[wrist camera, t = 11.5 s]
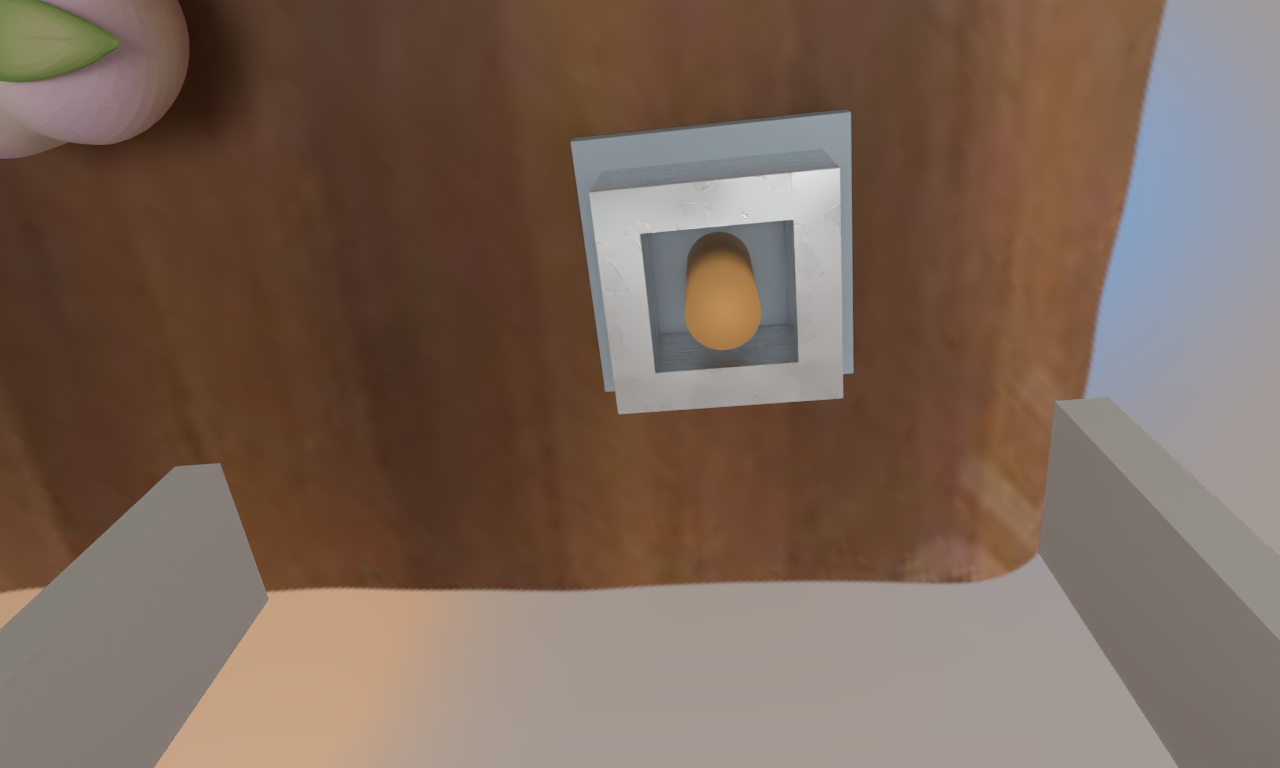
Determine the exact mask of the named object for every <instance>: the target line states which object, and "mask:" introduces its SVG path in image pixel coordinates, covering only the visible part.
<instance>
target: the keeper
mask: <svg viewBox="0 0 1280 768" xmlns="http://www.w3.org/2000/svg"><path fill="white" fill-rule="evenodd" d="M571 148H572V156H573V163H574V170H575V177H576V184H577V192H578V199H579V206H580V213H581V220H582V228H583V235H584V242H585V249H586V256H587V264H588V271H589V278H590V285H591V293H592V300H593V307H594V314H595V321H596V329H597V336H598V343H599V350H600V357H601V365H602V372H603V379H604V386H605V392H610V391H615V385H614V378H613V370H612V363H611V355H610V348H609V340H608V333H607V325H606V317H605V310H604V302H603V295H602V287H601V280H600V272H599V265H598V257H597V249H596V242H595V234H594V227H593V219H592V212H591V204H590V197H589V192H590V190H591V188H592V187H593V185H594V183H595V182H596V180H597V178H598V177H599V175H600V173H601V172H602V171H608V170H618V169H628V168H638V167H648V166H658V165H668V164H678V163H687V162H697V161H707V160H717V159H727V158H737V157H747V156H757V155H767V154H777V153H786V152H796V151H806V150H816V149H823V150H824V151H825V152H826V153H827V154H828V155H829V156H830V157H831V158H832V160H833V161H834V162H835V163H836V164H837V165H838V166H839V167H840V202H841V273H842V344H843V374H850V373H853V276H852V172H851V112H850V111H849V110H847V109H842V110H832V111H823V112H814V113H804V114H795V115H785V116H776V117H767V118H757V119H748V120H738V121H729V122H720V123H710V124H701V125H691V126H682V127H673V128H663V129H654V130H644V131H635V132H626V133H616V134H607V135H597V136H588V137H579V138H574V139H573V140H572V141H571ZM649 234H650V244H651V253H652V263H653V272H654V282H655V291H656V300H657V310H658V319H659V329H660V333H672V332H684V331H689V332H690V334H691V335H692V336H693V337H694V339H695V340H697V341H698V342H699V343H700V344H702V345H704V346H706V347H708V348H711V349H715V350H730V349H734V348H737V347H739V346H741V345H743V344H745V343H746V342H747V341H748V340H750V339H751V338H752V336H753V335H754V334H755V332H756V331H757V329H758V327H759V325H771V324H783V323H787V299H786V275H785V251H784V227H783V221H773V222H762V223H751V224H740V225H730V226H719V227H708V228H697V229H687V230H676V231H665V232H654V233H649Z"/></svg>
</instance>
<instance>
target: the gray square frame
mask: <svg viewBox="0 0 1280 768" xmlns="http://www.w3.org/2000/svg"><path fill="white" fill-rule="evenodd" d="M589 197H590V204H591V212H592V219H593V227H594V234H595V242H596V249H597V257H598V265H599V272H600V280H601V287H602V295H603V302H604V310H605V317H606V325H607V333H608V340H609V348H610V355H611V363H612V370H613V378H614V385H615V393H616V401H617V408H618V414H629V413H643V412H657V411H671V410H685V409H699V408H713V407H727V406H741V405H755V404H769V403H784V402H798V401H812V400H826V399H840V398H843V344H842V273H841V202H840V167H839V166H838V165H837V164H836V163H835V162H834V161H833V160H832V158H831V157H830V156H829V155H828V154H827V153H826V152H825V151H824V150H823V149H816V150H806V151H796V152H786V153H777V154H767V155H757V156H747V157H737V158H727V159H717V160H707V161H697V162H687V163H678V164H668V165H658V166H648V167H638V168H628V169H618V170H608V171H602V172H601V173H600V175H599V177H598V178H597V180H596V182H595V183H594V185H593V187H592V188H591V190H590V192H589ZM773 221H783V227H784V251H785V275H786V299H787V323H783V324H771V325H759V327H758V329H757V331H756V332H755V334H754V335H753V336H752V338H751V339H750V340H748V341H747V342H746V343H745V344H743V345H741V346H739V347H737V348H734V349H730V350H715V349H711V348H708V347H706V346H704V345H702V344H700V343H699V342H698V341H697V340H695V339H694V337H693V336H692V335H691V334H690V332H689V331H684V332H672V333H660V329H659V319H658V310H657V300H656V291H655V282H654V272H653V263H652V253H651V244H650V234H649V233H654V232H665V231H676V230H687V229H697V228H708V227H719V226H730V225H740V224H751V223H762V222H773Z"/></svg>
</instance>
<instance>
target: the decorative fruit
mask: <svg viewBox="0 0 1280 768" xmlns="http://www.w3.org/2000/svg"><path fill="white" fill-rule="evenodd" d="M188 63H189V35H188V29H187V24H186V21H185V17H184V14H183V11H182V9H181V6H180V4H179V2H178V0H0V159H10V158H24V157H27V156H31V155H35V154H38V153H41V152H44V151H47V150H50V149H52V148H55V147H58V146H61V145H63V144H66V143H68V142H72V143H78V144H91V145H107V144H115V143H118V142H121V141H124V140H128V139H131V138H132V137H134V136H136V135H138V134H140V133H142V132H144V131H146V130H147V129H148V128H150V127H151V126H152V125H153V124H155V123H156V122H157V121H158V120H160V119H161V118H162V117H163V115H164V114H165V113H166V112H167V111H168V110H169V109H170V107H171V106H172V104H173V103H174V101H175V99H176V98H177V96H178V94H179V92H180V90H181V88H182V85H183V83H184V80H185V77H186V73H187V69H188Z"/></svg>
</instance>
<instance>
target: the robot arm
mask: <svg viewBox="0 0 1280 768" xmlns="http://www.w3.org/2000/svg"><path fill="white" fill-rule="evenodd" d="M1038 553H1039V554H1040V556H1041V557H1042V559H1043V560H1044V562H1045V563H1046V565H1047V566H1048V568H1049V569H1050V571H1051V573H1052V574H1053V575H1054V577H1055V579H1056V580H1057V582H1058V583H1059V585H1060V586H1061V588H1062V589H1063V591H1064V592H1065V594H1066V596H1067V597H1068V599H1069V600H1070V602H1071V603H1072V605H1073V606H1074V608H1075V609H1076V611H1077V612H1078V614H1079V615H1080V617H1081V618H1082V620H1083V622H1084V623H1085V625H1086V626H1087V628H1088V629H1089V631H1090V632H1091V634H1092V635H1093V637H1094V638H1095V640H1096V642H1097V643H1098V645H1099V646H1100V648H1101V649H1102V651H1103V652H1104V654H1105V655H1106V657H1107V658H1108V660H1109V661H1110V663H1111V664H1112V666H1113V668H1114V669H1115V670H1116V672H1117V674H1118V675H1119V677H1120V678H1121V680H1122V681H1123V683H1124V684H1125V686H1126V687H1127V689H1128V691H1129V692H1130V693H1131V695H1132V697H1133V698H1134V700H1135V701H1136V703H1137V704H1138V706H1139V707H1140V709H1141V711H1142V712H1143V714H1144V715H1145V717H1146V718H1147V720H1148V721H1149V723H1150V724H1151V726H1152V727H1153V729H1154V730H1155V732H1156V733H1157V735H1158V737H1159V738H1160V740H1161V741H1162V743H1163V744H1164V746H1165V747H1166V749H1167V750H1168V752H1169V753H1170V755H1171V757H1172V758H1173V760H1174V761H1175V762H1176V764H1177V766H1178V767H1179V768H1280V556H1279V555H1278V554H1277V553H1276V552H1275V551H1274V550H1273V549H1272V548H1271V547H1269V546H1268V545H1267V544H1266V543H1265V542H1264V541H1263V540H1262V539H1261V538H1260V537H1259V536H1258V535H1256V533H1254V532H1253V531H1252V530H1251V529H1250V528H1249V527H1248V526H1247V525H1246V524H1245V523H1244V522H1243V521H1241V520H1240V519H1239V518H1238V517H1237V516H1236V515H1235V514H1234V513H1233V512H1232V511H1231V510H1230V509H1228V508H1227V507H1226V506H1225V505H1224V504H1223V503H1222V502H1221V501H1220V500H1219V499H1218V498H1217V497H1215V496H1214V495H1213V494H1212V493H1211V492H1210V491H1209V490H1208V489H1207V488H1206V487H1205V486H1204V485H1202V484H1201V483H1200V482H1199V481H1198V480H1197V479H1196V478H1195V477H1194V476H1193V475H1192V474H1191V473H1189V472H1188V471H1187V470H1186V469H1185V468H1184V467H1183V466H1182V465H1181V464H1180V463H1179V462H1178V461H1177V460H1175V459H1174V458H1173V457H1172V456H1171V455H1170V454H1169V453H1168V452H1167V451H1166V450H1165V449H1163V448H1162V447H1161V446H1160V445H1159V444H1158V443H1157V442H1156V441H1155V440H1154V439H1153V438H1152V437H1150V435H1148V434H1147V433H1146V432H1145V431H1144V430H1143V429H1142V428H1141V427H1140V426H1139V425H1138V424H1137V423H1135V422H1134V421H1133V420H1132V419H1131V418H1130V417H1129V416H1128V415H1127V414H1126V413H1125V412H1124V411H1122V410H1121V409H1120V408H1119V407H1118V406H1117V405H1116V404H1115V403H1114V402H1113V401H1111V400H1110V399H1109V398H1108V397H1103V398H1090V399H1076V400H1063V401H1055V405H1054V415H1053V424H1052V433H1051V442H1050V451H1049V461H1048V470H1047V479H1046V488H1045V497H1044V506H1043V516H1042V525H1041V534H1040V543H1039V552H1038ZM267 601H268V596H267V593H266V591H265V588H264V585H263V582H262V579H261V577H260V574H259V571H258V568H257V565H256V563H255V560H254V557H253V554H252V551H251V549H250V546H249V543H248V540H247V537H246V535H245V532H244V529H243V526H242V523H241V521H240V518H239V515H238V512H237V509H236V507H235V504H234V501H233V498H232V495H231V493H230V490H229V487H228V484H227V481H226V479H225V476H224V473H223V470H222V467H221V465H220V463H217V464H203V465H190V466H176V467H174V468H173V469H172V470H171V471H170V472H169V473H168V474H167V475H166V476H165V477H164V478H162V479H161V480H160V481H159V482H158V483H157V484H156V485H155V486H154V487H153V488H152V489H151V490H150V491H149V492H147V493H146V494H145V495H144V496H143V497H142V498H141V499H140V500H139V501H138V502H137V503H136V504H135V505H133V506H132V507H131V508H130V509H129V510H128V511H127V512H126V513H125V514H124V515H123V516H122V517H121V518H120V519H118V520H117V521H116V522H115V523H114V524H113V525H112V526H111V527H110V528H109V529H108V530H107V531H106V532H105V533H103V534H102V535H101V536H100V537H99V538H98V539H97V540H96V541H95V542H94V543H93V544H92V545H91V546H89V547H88V548H87V549H86V550H85V551H84V552H83V553H82V554H81V555H80V556H79V557H78V558H77V559H76V560H74V561H73V562H72V563H71V564H70V565H69V566H68V567H67V568H66V569H65V570H64V571H63V572H62V573H61V574H59V575H58V576H57V577H56V578H55V579H54V580H53V581H52V582H51V583H50V584H49V585H48V586H47V587H45V588H44V589H43V590H42V591H41V592H40V593H39V594H38V595H37V596H36V597H35V598H34V599H33V600H32V601H31V602H29V603H28V604H27V605H26V606H25V607H24V608H23V609H22V610H21V611H20V612H19V613H18V614H17V615H16V616H14V617H13V618H12V619H11V620H10V621H9V622H8V623H7V624H6V625H5V626H4V627H3V628H1V630H0V768H154V767H155V765H156V764H157V762H158V761H159V759H160V758H161V757H162V755H163V753H164V752H165V751H166V749H167V748H168V746H169V745H170V743H171V742H172V740H173V739H174V737H175V736H176V734H177V733H178V732H179V730H180V729H181V727H182V726H183V724H184V723H185V721H186V720H187V718H188V717H189V715H190V714H191V712H192V711H193V710H194V708H195V706H196V705H197V704H198V702H199V701H200V699H201V698H202V696H203V695H204V693H205V692H206V690H207V689H208V687H209V686H210V685H211V683H212V682H213V680H214V679H215V677H216V676H217V674H218V673H219V671H220V670H221V668H222V667H223V665H224V664H225V662H226V661H227V660H228V658H229V657H230V655H231V654H232V652H233V651H234V649H235V647H236V646H237V645H238V643H239V642H240V640H241V639H242V637H243V636H244V634H245V633H246V632H247V630H248V629H249V627H250V626H251V624H252V623H253V621H254V620H255V618H256V617H257V615H258V614H259V613H260V611H261V609H262V608H263V607H264V605H265V604H266V602H267Z"/></svg>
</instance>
